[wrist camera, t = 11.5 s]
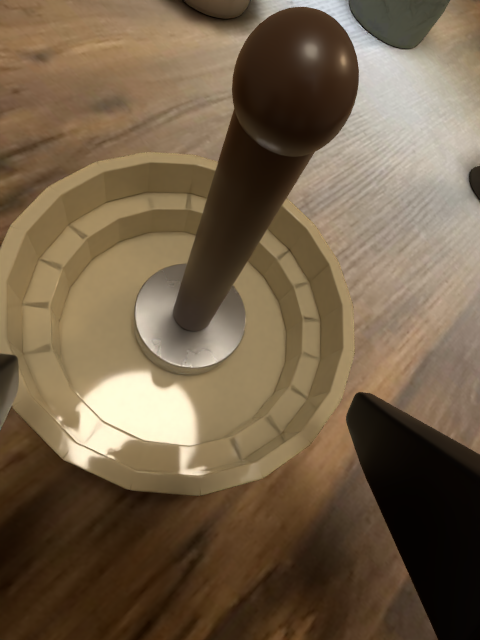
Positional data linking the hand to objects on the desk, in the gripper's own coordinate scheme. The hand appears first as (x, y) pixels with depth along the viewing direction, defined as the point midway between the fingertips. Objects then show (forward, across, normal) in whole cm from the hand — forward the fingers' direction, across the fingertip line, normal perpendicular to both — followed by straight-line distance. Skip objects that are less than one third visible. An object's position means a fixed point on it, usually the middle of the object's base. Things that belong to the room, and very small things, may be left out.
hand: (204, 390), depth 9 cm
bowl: (+9, 0, +2) cm, 9 cm away
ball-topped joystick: (+8, 0, +2) cm, 9 cm away
